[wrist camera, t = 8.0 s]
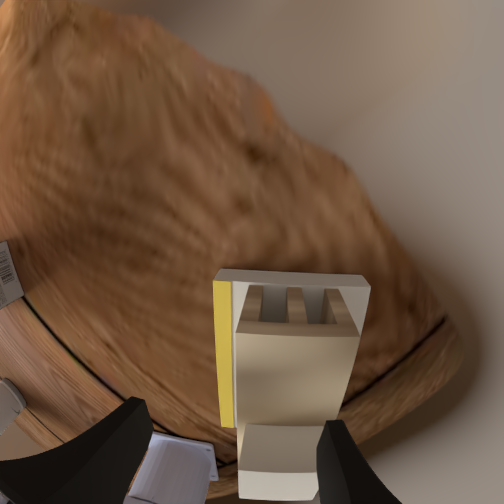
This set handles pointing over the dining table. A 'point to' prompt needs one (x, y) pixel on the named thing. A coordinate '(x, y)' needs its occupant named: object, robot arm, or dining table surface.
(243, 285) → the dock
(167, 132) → the dining table surface
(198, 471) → the robot arm
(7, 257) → the coffee box
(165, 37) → the dining table surface
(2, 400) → the travel mug
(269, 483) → the plain white block
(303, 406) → the slotted cream block
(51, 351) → the dining table surface
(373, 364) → the dining table surface
